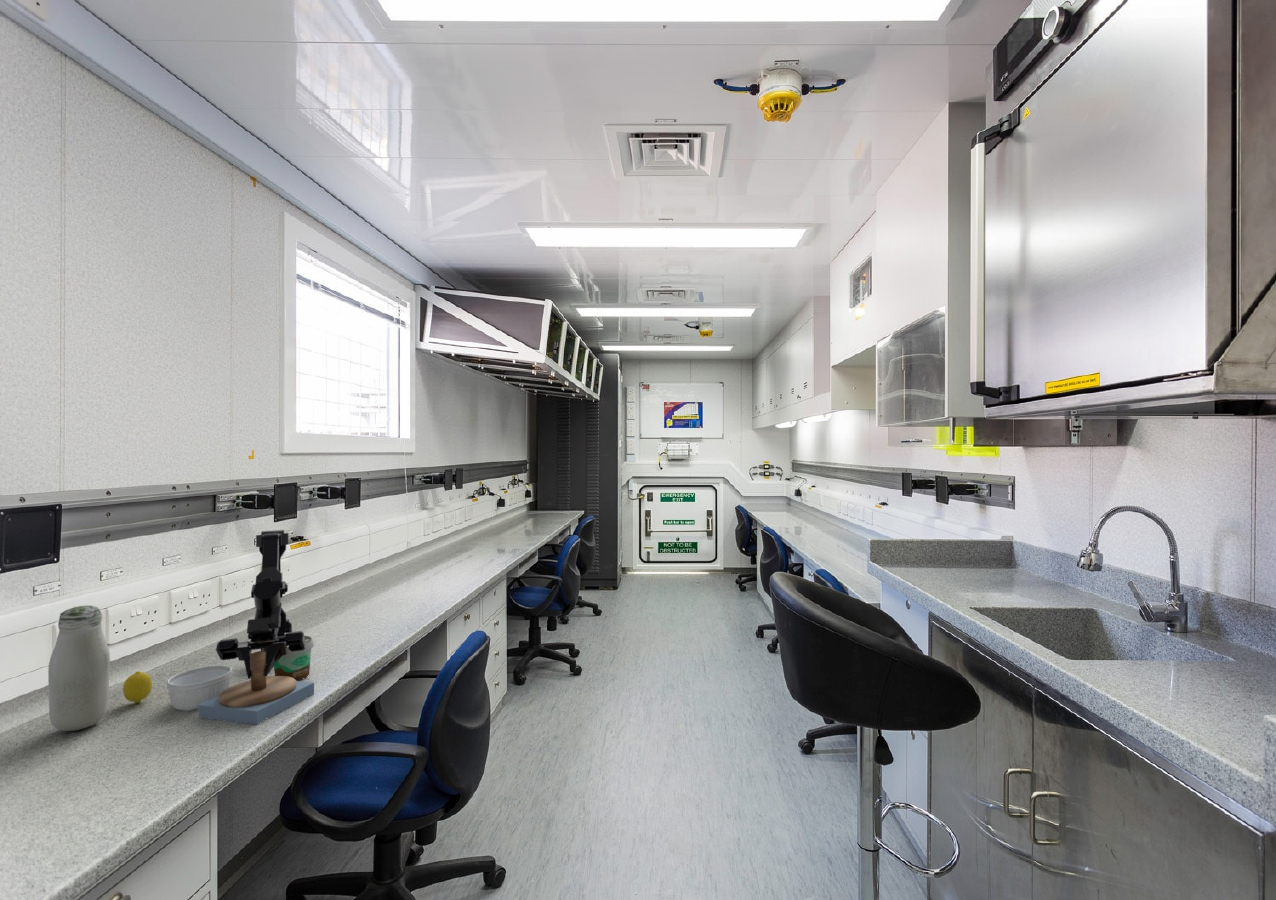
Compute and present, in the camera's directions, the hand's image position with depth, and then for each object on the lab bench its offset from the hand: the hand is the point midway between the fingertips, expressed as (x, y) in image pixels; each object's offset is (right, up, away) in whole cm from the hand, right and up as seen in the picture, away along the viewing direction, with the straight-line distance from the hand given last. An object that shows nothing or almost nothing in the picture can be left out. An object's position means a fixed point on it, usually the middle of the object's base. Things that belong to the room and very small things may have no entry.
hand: (257, 676), depth 142 cm
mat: (0, -8, +1) cm, 8 cm away
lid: (0, -5, +1) cm, 5 cm away
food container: (-1, -8, +18) cm, 20 cm away
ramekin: (-17, -8, +4) cm, 19 cm away
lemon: (-33, -8, +4) cm, 34 cm away
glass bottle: (-35, -8, -9) cm, 37 cm away
